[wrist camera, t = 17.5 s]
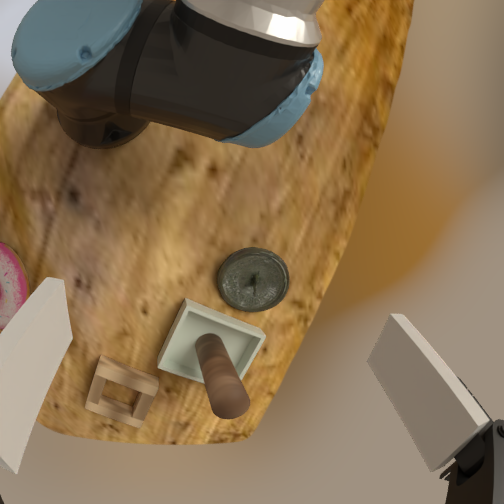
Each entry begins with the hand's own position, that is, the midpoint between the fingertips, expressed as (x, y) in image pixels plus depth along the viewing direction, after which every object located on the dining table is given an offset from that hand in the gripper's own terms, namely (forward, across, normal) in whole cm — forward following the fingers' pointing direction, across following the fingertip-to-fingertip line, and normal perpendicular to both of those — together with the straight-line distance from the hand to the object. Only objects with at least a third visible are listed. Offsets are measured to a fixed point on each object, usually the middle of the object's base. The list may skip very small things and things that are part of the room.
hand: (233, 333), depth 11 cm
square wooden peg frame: (+23, -12, -33) cm, 42 cm away
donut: (+25, -33, -17) cm, 45 cm away
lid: (+31, +7, -13) cm, 34 cm away
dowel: (+27, +2, -24) cm, 36 cm away
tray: (+27, +2, -24) cm, 36 cm away
